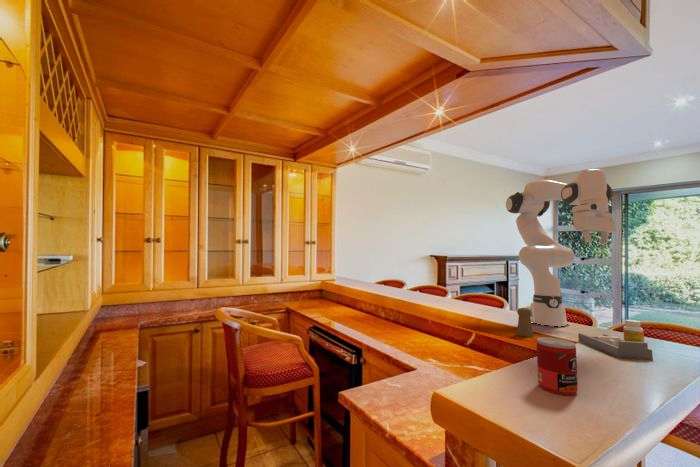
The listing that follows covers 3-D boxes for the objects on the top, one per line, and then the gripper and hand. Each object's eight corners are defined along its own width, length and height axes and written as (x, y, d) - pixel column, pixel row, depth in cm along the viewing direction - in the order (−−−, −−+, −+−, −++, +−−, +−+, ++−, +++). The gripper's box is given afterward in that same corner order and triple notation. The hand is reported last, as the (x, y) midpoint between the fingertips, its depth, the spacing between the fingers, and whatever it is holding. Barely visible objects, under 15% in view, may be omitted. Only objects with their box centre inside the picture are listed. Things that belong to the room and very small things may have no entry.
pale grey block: (597, 345, 110) (597, 335, 110) (618, 346, 109) (617, 336, 110) (604, 347, 107) (603, 338, 107) (625, 348, 106) (624, 339, 106)
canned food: (564, 398, 67) (562, 346, 68) (530, 385, 74) (528, 338, 75) (586, 393, 70) (583, 343, 71) (551, 380, 77) (549, 336, 78)
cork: (514, 335, 127) (514, 308, 128) (519, 332, 131) (518, 306, 132) (531, 337, 123) (530, 309, 124) (535, 335, 127) (534, 308, 128)
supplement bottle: (627, 349, 109) (625, 321, 110) (622, 345, 113) (620, 318, 114) (647, 351, 106) (645, 322, 107) (641, 347, 111) (639, 320, 112)
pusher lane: (578, 341, 119) (578, 327, 119) (606, 342, 117) (606, 329, 118) (617, 357, 98) (617, 341, 98) (652, 359, 97) (651, 343, 97)
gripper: (601, 211, 129) (603, 244, 127) (568, 207, 122) (570, 242, 120) (619, 209, 123) (621, 243, 122) (586, 204, 116) (588, 241, 114)
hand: (596, 243), depth 121 cm, fingers open, 8 cm apart
